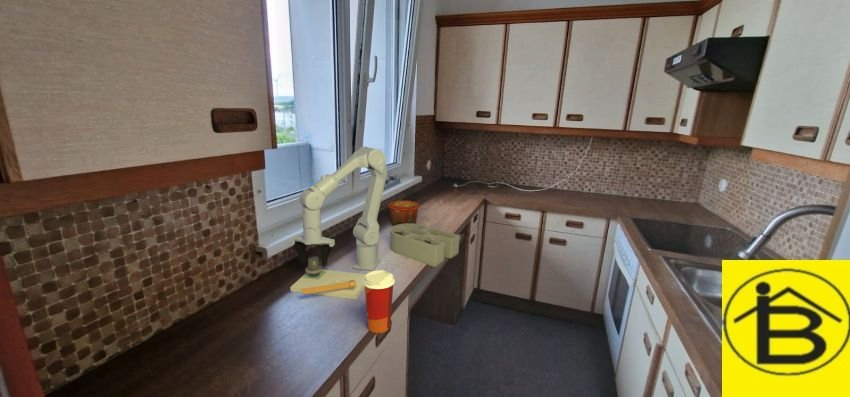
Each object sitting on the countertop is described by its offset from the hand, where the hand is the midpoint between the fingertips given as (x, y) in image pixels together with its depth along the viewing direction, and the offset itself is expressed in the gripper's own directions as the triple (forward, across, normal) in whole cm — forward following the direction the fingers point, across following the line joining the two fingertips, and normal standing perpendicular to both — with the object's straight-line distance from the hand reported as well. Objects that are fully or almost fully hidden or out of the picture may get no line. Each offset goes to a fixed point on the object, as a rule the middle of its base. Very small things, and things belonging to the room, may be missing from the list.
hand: (314, 263), depth 120 cm
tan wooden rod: (+3, +10, -10) cm, 15 cm away
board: (+6, +8, -2) cm, 10 cm away
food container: (+6, +16, +66) cm, 69 cm away
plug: (+4, 0, 0) cm, 4 cm away
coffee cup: (+6, +30, -22) cm, 37 cm away
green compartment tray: (+6, +31, +32) cm, 45 cm away
